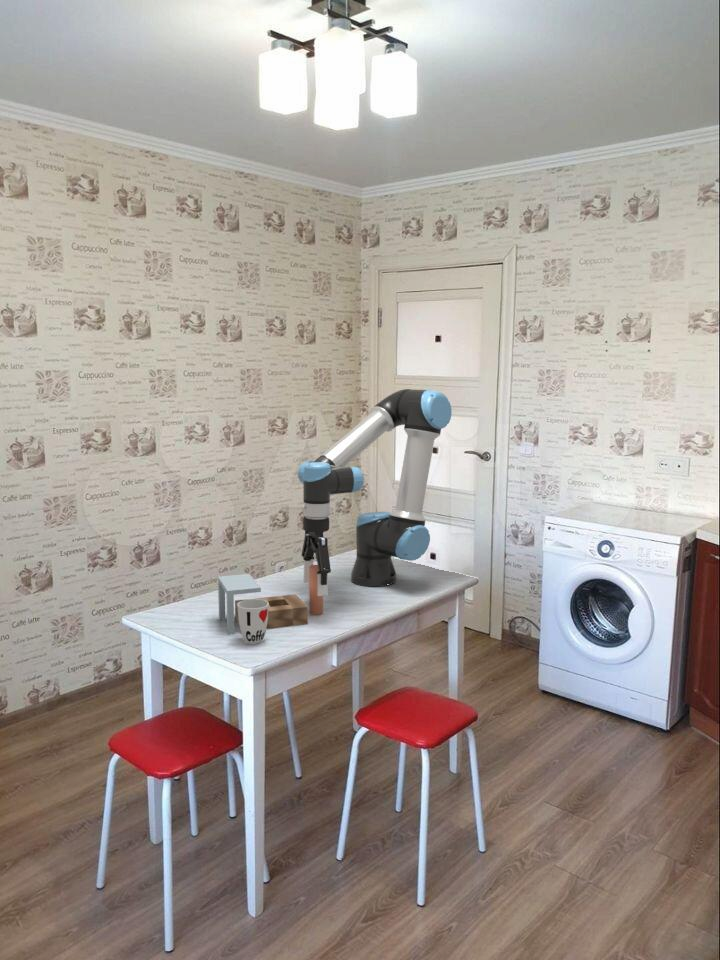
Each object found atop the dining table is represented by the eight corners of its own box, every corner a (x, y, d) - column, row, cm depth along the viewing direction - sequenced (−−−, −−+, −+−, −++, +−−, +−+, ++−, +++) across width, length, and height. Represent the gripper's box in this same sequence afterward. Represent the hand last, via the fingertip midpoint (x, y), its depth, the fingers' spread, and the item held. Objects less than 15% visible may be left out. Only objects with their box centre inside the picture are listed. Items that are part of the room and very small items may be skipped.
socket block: (295, 610, 223) (295, 594, 222) (307, 623, 212) (307, 606, 211) (235, 617, 216) (234, 600, 216) (244, 631, 205) (243, 613, 205)
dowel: (320, 610, 223) (320, 564, 221) (324, 614, 220) (324, 567, 217) (307, 611, 222) (307, 565, 220) (311, 616, 218) (311, 569, 216)
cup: (242, 647, 194) (241, 610, 192) (234, 637, 201) (233, 600, 200) (272, 643, 197) (272, 606, 196) (264, 632, 205) (263, 597, 203)
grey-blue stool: (249, 614, 219) (249, 573, 217) (261, 630, 206) (260, 587, 204) (218, 617, 216) (218, 576, 214) (228, 634, 203) (227, 590, 201)
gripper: (291, 509, 226) (291, 578, 230) (316, 526, 203) (315, 602, 207) (315, 508, 229) (314, 576, 232) (343, 524, 206) (341, 600, 209)
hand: (315, 588), depth 219 cm, fingers open, 13 cm apart
